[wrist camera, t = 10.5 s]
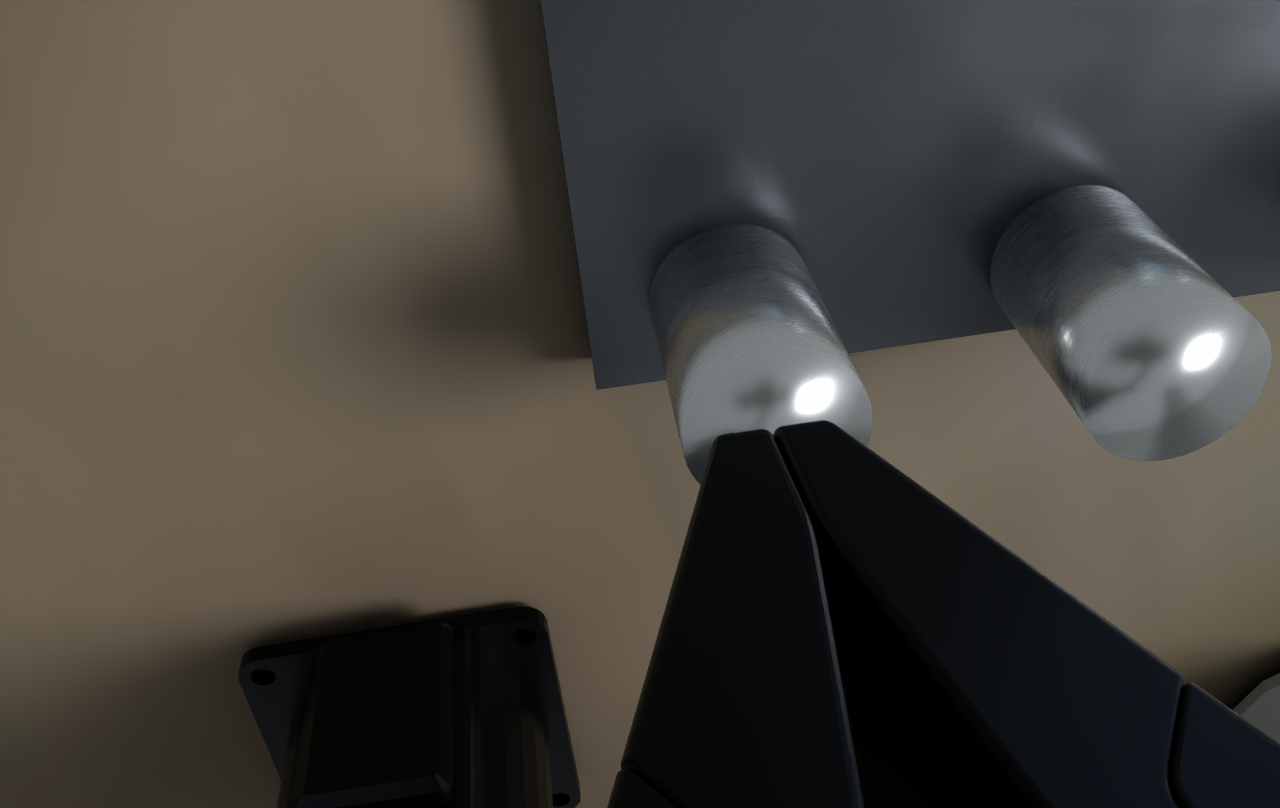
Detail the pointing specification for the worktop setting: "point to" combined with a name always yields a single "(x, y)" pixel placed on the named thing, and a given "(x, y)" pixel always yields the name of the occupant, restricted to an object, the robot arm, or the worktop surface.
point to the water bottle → (1263, 707)
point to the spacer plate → (924, 200)
